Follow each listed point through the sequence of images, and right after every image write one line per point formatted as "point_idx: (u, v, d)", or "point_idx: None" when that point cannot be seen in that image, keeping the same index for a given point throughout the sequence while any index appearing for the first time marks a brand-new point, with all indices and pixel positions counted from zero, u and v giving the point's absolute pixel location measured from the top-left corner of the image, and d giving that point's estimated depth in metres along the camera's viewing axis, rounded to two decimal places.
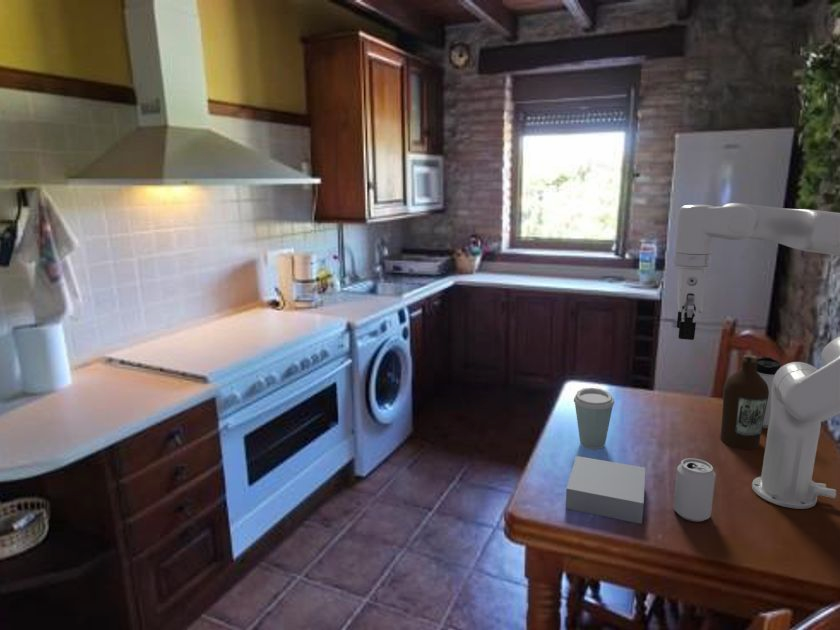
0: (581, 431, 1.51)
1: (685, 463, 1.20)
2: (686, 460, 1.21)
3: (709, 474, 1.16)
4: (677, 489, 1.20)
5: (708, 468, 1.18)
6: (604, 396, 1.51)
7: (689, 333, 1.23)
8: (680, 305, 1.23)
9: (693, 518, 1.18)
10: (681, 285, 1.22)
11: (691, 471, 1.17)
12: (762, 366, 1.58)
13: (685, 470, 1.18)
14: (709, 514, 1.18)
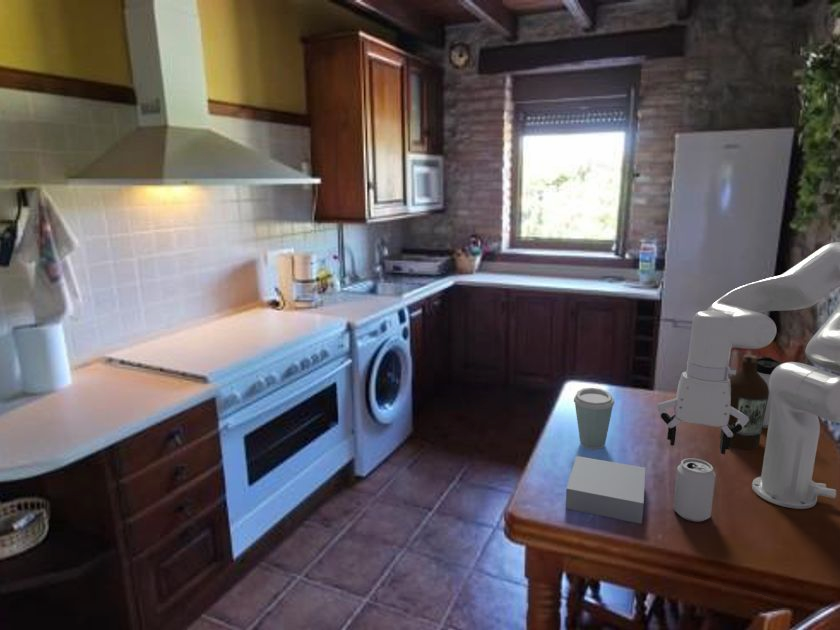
0: (581, 431, 1.51)
1: (685, 463, 1.20)
2: (686, 460, 1.21)
3: (709, 474, 1.16)
4: (677, 489, 1.20)
5: (708, 468, 1.18)
6: (604, 396, 1.51)
7: None
8: (727, 421, 1.12)
9: (693, 518, 1.18)
10: (728, 400, 1.11)
11: (691, 471, 1.17)
12: (762, 366, 1.58)
13: (685, 470, 1.18)
14: (709, 514, 1.18)
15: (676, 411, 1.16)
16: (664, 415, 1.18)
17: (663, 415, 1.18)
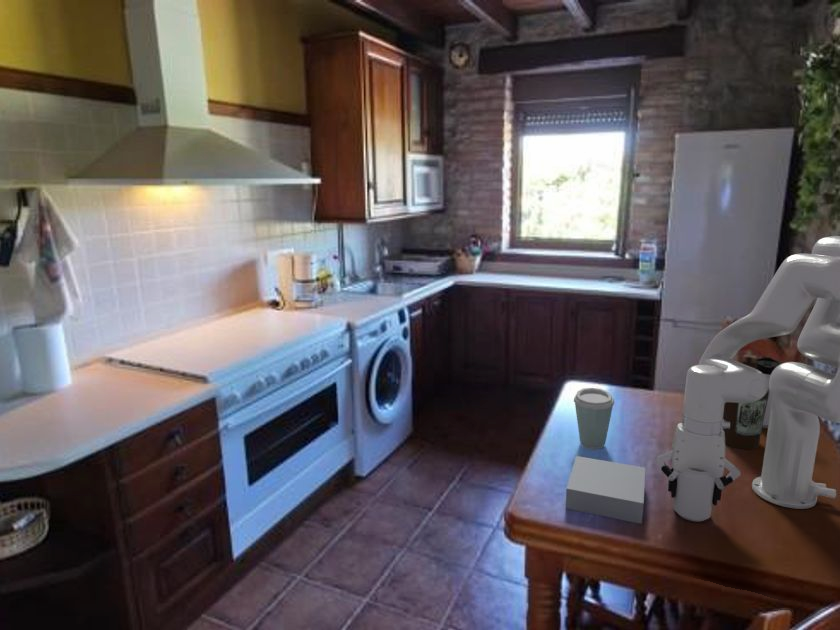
0: (581, 431, 1.51)
1: None
2: None
3: None
4: (677, 489, 1.20)
5: None
6: (604, 396, 1.51)
7: None
8: (722, 472, 1.15)
9: (693, 518, 1.18)
10: (723, 453, 1.14)
11: (691, 471, 1.17)
12: (762, 366, 1.58)
13: None
14: (709, 514, 1.18)
15: (672, 462, 1.19)
16: (664, 468, 1.20)
17: (663, 468, 1.21)
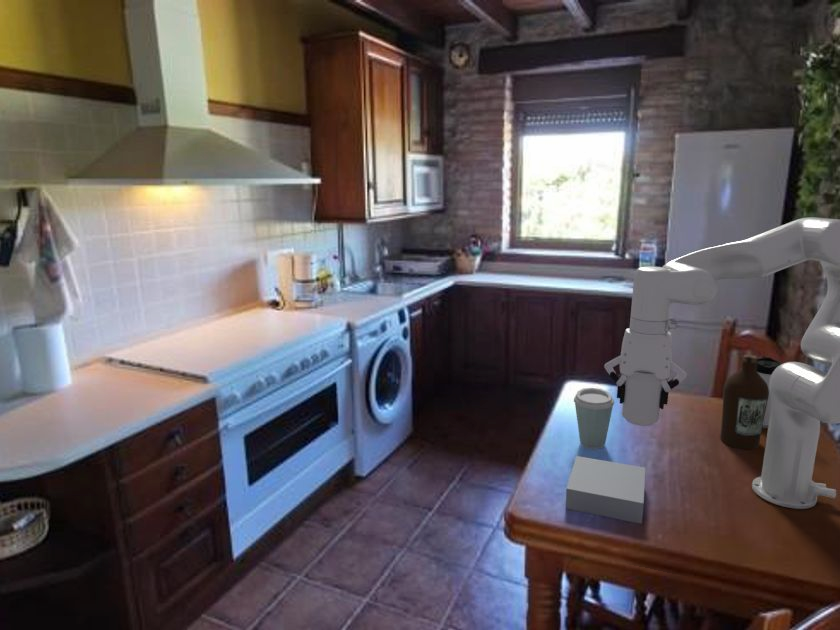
0: (581, 431, 1.51)
1: None
2: None
3: None
4: (625, 394, 1.19)
5: None
6: (604, 396, 1.51)
7: None
8: (669, 374, 1.15)
9: (640, 422, 1.17)
10: (669, 353, 1.14)
11: (638, 374, 1.16)
12: (762, 366, 1.58)
13: None
14: (656, 418, 1.18)
15: (620, 366, 1.18)
16: (613, 374, 1.20)
17: (612, 374, 1.20)
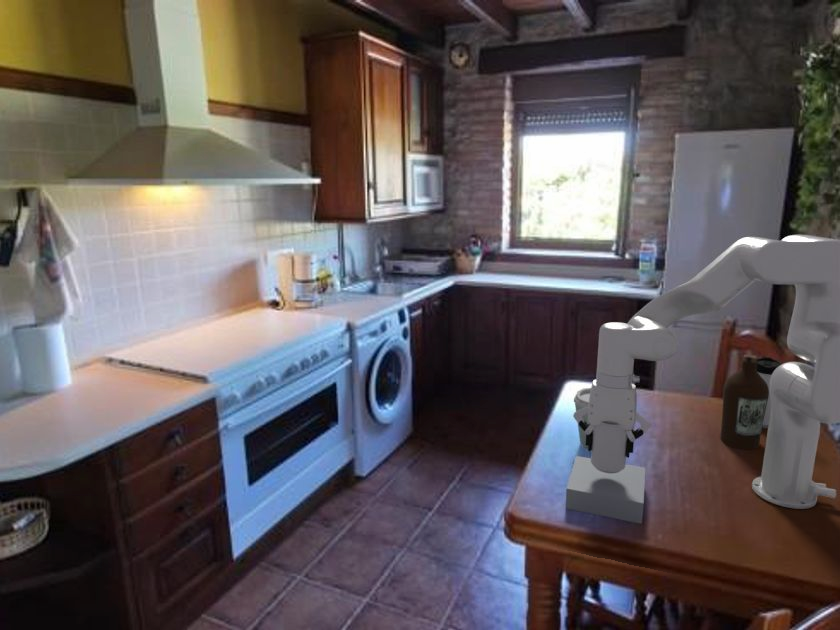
0: (581, 431, 1.51)
1: None
2: None
3: None
4: (593, 443, 1.25)
5: None
6: None
7: None
8: (633, 425, 1.20)
9: (607, 470, 1.23)
10: (632, 406, 1.19)
11: (604, 424, 1.22)
12: (762, 366, 1.58)
13: (599, 424, 1.23)
14: (622, 466, 1.23)
15: (588, 416, 1.24)
16: (581, 423, 1.26)
17: (580, 423, 1.26)
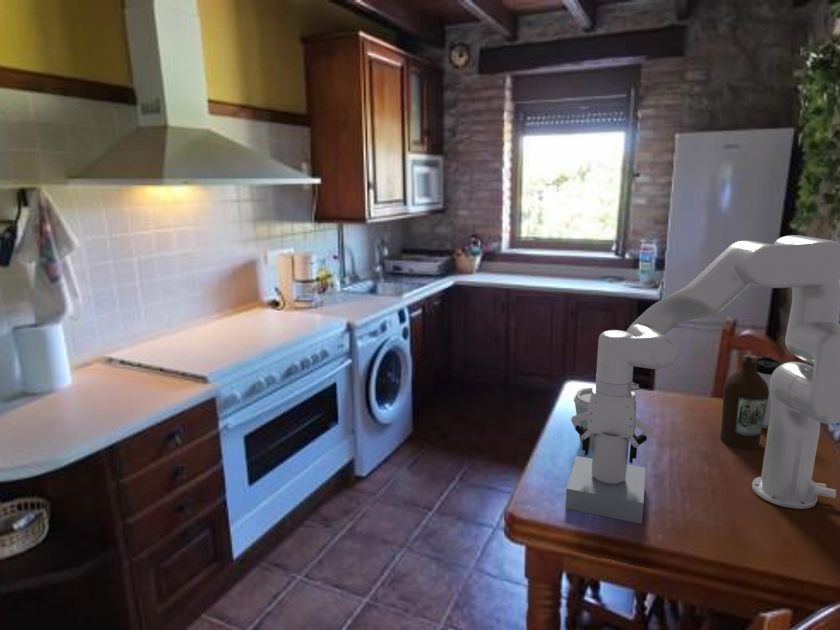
0: None
1: None
2: None
3: (621, 438, 1.22)
4: (593, 454, 1.25)
5: None
6: None
7: None
8: (633, 432, 1.21)
9: (607, 481, 1.23)
10: (632, 413, 1.19)
11: (605, 436, 1.22)
12: (762, 366, 1.58)
13: (600, 435, 1.23)
14: (623, 477, 1.24)
15: (587, 424, 1.24)
16: (578, 427, 1.26)
17: (577, 427, 1.26)
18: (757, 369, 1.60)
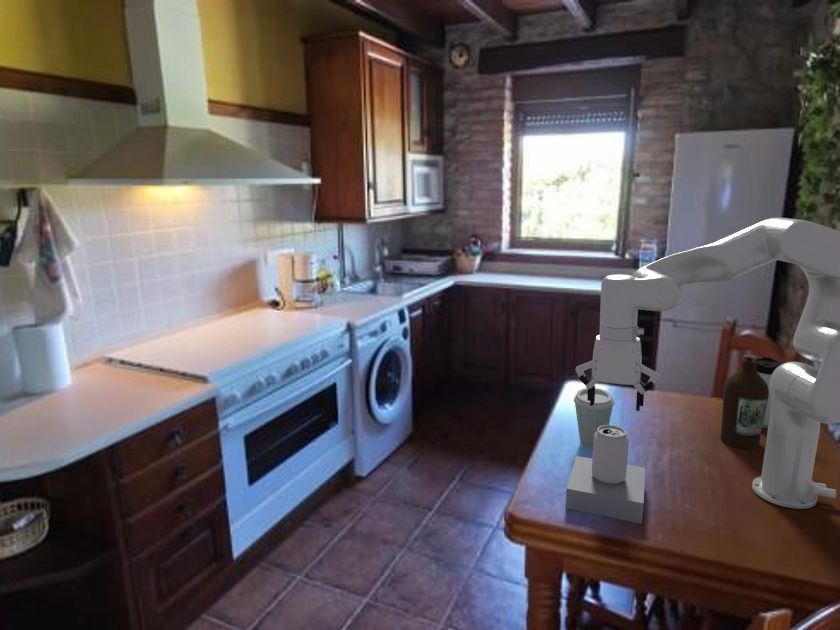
0: (581, 431, 1.51)
1: (601, 429, 1.26)
2: (603, 426, 1.27)
3: (621, 438, 1.22)
4: (593, 454, 1.25)
5: (622, 433, 1.24)
6: (604, 396, 1.51)
7: (643, 401, 1.21)
8: (639, 378, 1.18)
9: (607, 481, 1.23)
10: (637, 359, 1.17)
11: (605, 436, 1.22)
12: (762, 366, 1.58)
13: (600, 435, 1.23)
14: (623, 477, 1.24)
15: (592, 372, 1.21)
16: (582, 377, 1.23)
17: (581, 377, 1.23)
18: (757, 369, 1.60)
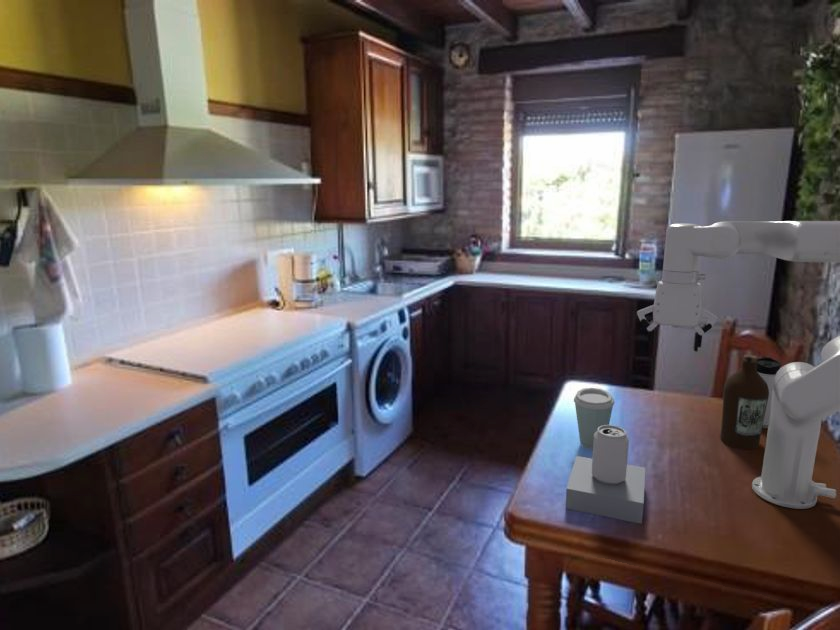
0: (581, 431, 1.51)
1: (601, 429, 1.26)
2: (603, 426, 1.27)
3: (621, 438, 1.22)
4: (593, 454, 1.25)
5: (622, 433, 1.24)
6: (604, 396, 1.51)
7: None
8: (698, 320, 1.27)
9: (607, 481, 1.23)
10: (698, 301, 1.26)
11: (605, 436, 1.22)
12: (762, 366, 1.58)
13: (600, 435, 1.23)
14: (623, 477, 1.24)
15: (654, 315, 1.30)
16: (643, 320, 1.32)
17: (643, 320, 1.32)
18: (757, 369, 1.60)
